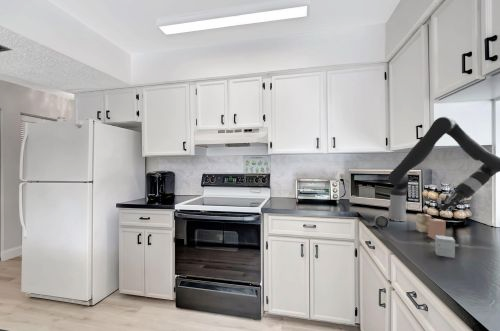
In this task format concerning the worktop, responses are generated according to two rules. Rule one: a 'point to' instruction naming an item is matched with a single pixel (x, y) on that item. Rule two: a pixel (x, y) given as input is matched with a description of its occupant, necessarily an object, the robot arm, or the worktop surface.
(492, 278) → the worktop surface
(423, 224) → the key one
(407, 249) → the worktop surface
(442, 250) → the product box
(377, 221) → the ceramic mug
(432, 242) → the keypad board
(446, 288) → the worktop surface
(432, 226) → the key two
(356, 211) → the worktop surface
